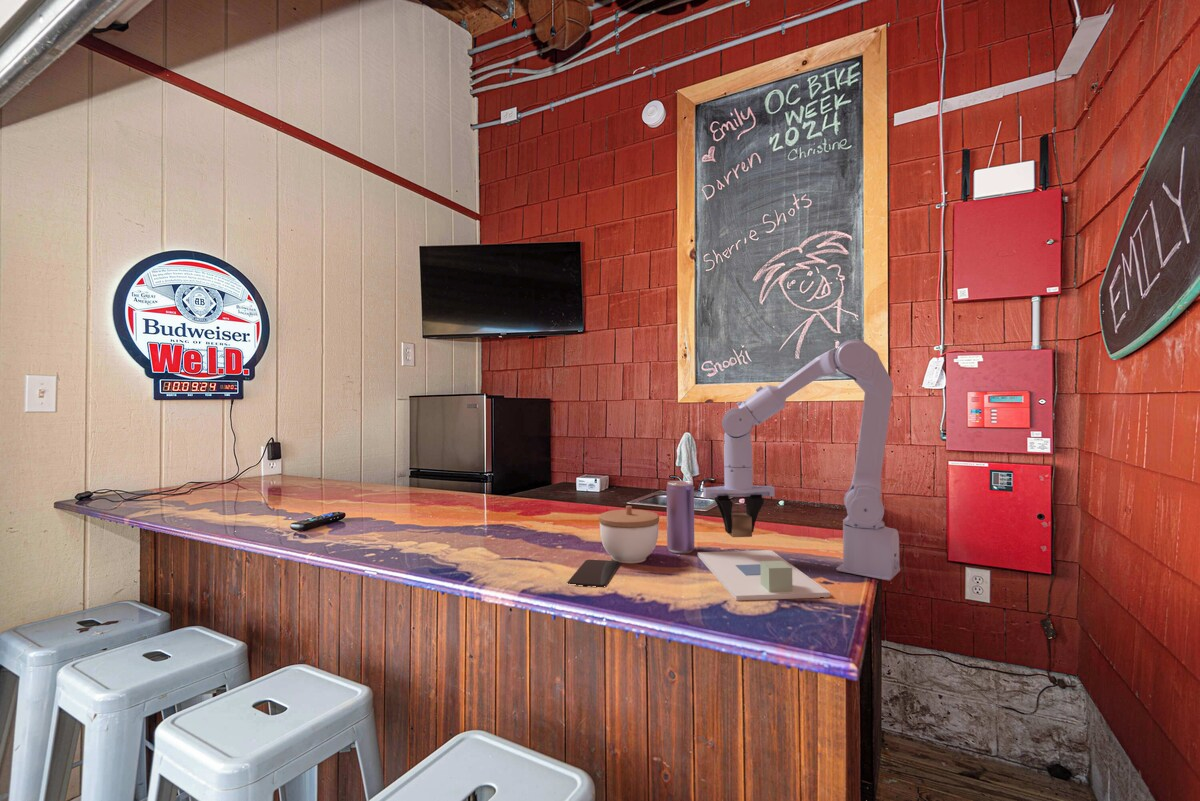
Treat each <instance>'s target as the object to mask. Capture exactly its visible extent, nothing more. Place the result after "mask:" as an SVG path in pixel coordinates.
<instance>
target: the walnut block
mask: <svg viewBox="0 0 1200 801" xmlns="http://www.w3.org/2000/svg"><path fill="white" fill-rule="evenodd" d="M731 522H732V531H731V533H727V534H728V535H730V536H731V537H732V538H752V537H753V532H752V517H751V516H749V515H747V512H743V513H742V512H741V513H739V512H738V513H731Z"/></svg>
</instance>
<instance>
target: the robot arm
mask: <svg viewBox="0 0 1200 801" xmlns="http://www.w3.org/2000/svg"><path fill="white" fill-rule="evenodd" d="M838 371H839V373H841V374H842V375H845V376H846V377H847V378H850V379H852V380H853V381H854V382H855V383H856V385H857V386H859V388H860V389H861V390H863V392H864V397H863V398H864V399H863V404H862V405H863V406H862V412H861V419H860V420H861V421H860V427H859V435H858V443H857V447H856V448H857V449H856V457H855V462H854V463H855V464H854V469H853V471H854V472H853V475H852V479H851V484H850V487H849V489H848V490H847V492H846V493H845V495H844V498H843V503H844V507H845V509H846V513H847V516H846V517H845V518H844V519H842V535H843V536H842V541H843V542H842V544H843V545H842V547H843V549H842V550H843V551H842V554H843V556H842V559H843V562H842V564H840V565H838V566H837V567H836V570H835V571H837V572H842V573H847V574H852V575H858V576H863V577H867V578H873V579H878V580H884V581H892V580H893V578H894V577H895V576H897V574H899V573H900V572H901V568H900V536H899V535H900V534H899V530H898V529H897V528H892V527H888V526H886V525H885V523H886V522H885V521H883V518H884V515H885V507H884V504H883V502H882V499H881V496H882V473H883V471H882V470H883V464H884V457H885V450H886V442H887V435H888V429H889V428H888V427H889V420H890V412H891V405H892V398H893V393H894V392H893V391H894V383H893V380H892V378H891V376H890V375H889V373H888V371H887V370H886V367H885V365H884V364H883V363H882V360H881V358H880V356H879V352H877V351H876V350H875V349H873V347H871V346H870V345H869V344H868V343H867V342H864V341H863V340H860V339H848V340H846V341H844V342H842V343H841V344H840V345H839V346H838V347H837V348H836V347H834V348H831V349H830V350H828V351H826V352H824V353H821V354H820V355H818V356H817V357H815V358H814V359H812V360H811V361H810V362H808V363H807V364H805V365H804V366H802V367H801V368H799V369H798V370H797V371H796V372H794V373H792V375H791V376H788V377H787V378H786V379H784V380H783V381H782V382H781V383H779V384H778V385H777V386H775V385H771V384H770V385H769V384H766V385H765V386H764V387H762V386H761V385H759V386H758V387H757V388H755V391H756V392H755V393H753V394H752V395H751V396H749V397H748V398H746V399H745V400H744V401H742V400H739V401H738V402H736V405H737V407H732V408H729V409H728V410H727V412H725V413H724V415H723V417H722V419H721V427H722V429H723V431H724V437H723V440H724V444H723V466H724V467H723V470H724V471H723V472H724V474H723V475H724V482H723V483H724V485H722V486H721V485H719V486H710V487H709V486H708V487H703V488H702V491H703V492H702V494H703V495H702V496H703V498H704V499H711V498H714V501H715V504H716V505H717V507H718V509H719V512H720V514H721V518H722V521H723V524H724V531H725V532H726V533H727V534H728V533H731V531H732V522H731V514H733V513H732V510H733V501H732V500H731V498H739V497H742V498H744V501H745V510H746V512H745V513H746V514H747V515H749V516H751V517H752V533H754V530H755V525H756V521H757V518H758V516H759V514H760V511H761V509H762V507H763V505H764V503H765V499H764V498H763V497H775V487H774V486H773V485H754V484H753V483H754V476H753V475H754V474H753V472H754V470H753V466H754V465H753V444H752V433H751V431H752V430H753V428H754V425H755V426H759V425H760V426H761V424H763V423H764V422H765V421H767V420H769V419H770V418H771V417H773V416H774V415H776V414H777V413H780V412H781V410H783V409H785V408H786V407H785V406H786V401H787V399H788V398H789V397H791V396H792V395H794V394H795V393H797V392H799V391H800V390H802V389H803V388H805V387H806V386H808V385H809V384H811V383H812V382H814V381H816V380H817V379H819V378H820V377H826V376H833V375H837V373H838Z"/></svg>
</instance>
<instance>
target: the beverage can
mask: <svg viewBox="0 0 1200 801" xmlns="http://www.w3.org/2000/svg"><path fill="white" fill-rule="evenodd" d="M693 484H694V483H693V482H692V481H690V480H688V481H687V480H671V481H670V480H669V481H667V484H666V546H667V549H668V551H669V552H671V553H673V554H678V555H679V554H682V555H683V554H690V553H693V551H694V550H695V487H694V485H693Z"/></svg>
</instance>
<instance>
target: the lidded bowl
mask: <svg viewBox="0 0 1200 801" xmlns="http://www.w3.org/2000/svg"><path fill="white" fill-rule="evenodd" d="M632 508H633V507H632V505H626V506H625V509H615V510H614V509H613V510H608V511H604V512H602V513H600V514H599V516H598V522H599V534H600V539H601V543H602V546H603V548H604V550H605V552H606V553H607V554H608V555H609V556H610V557H611V558H612V561H618V562H620V564H639V563H643V562H645V561H646V560H647V558H648V557H649V556H650V555H651V554H652V552H653V551H654V550H655V548H656V546H657V542H658V538H659V522H660V516H659V514H658V513H656V512H653V511H650V510H644V509H632Z"/></svg>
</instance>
